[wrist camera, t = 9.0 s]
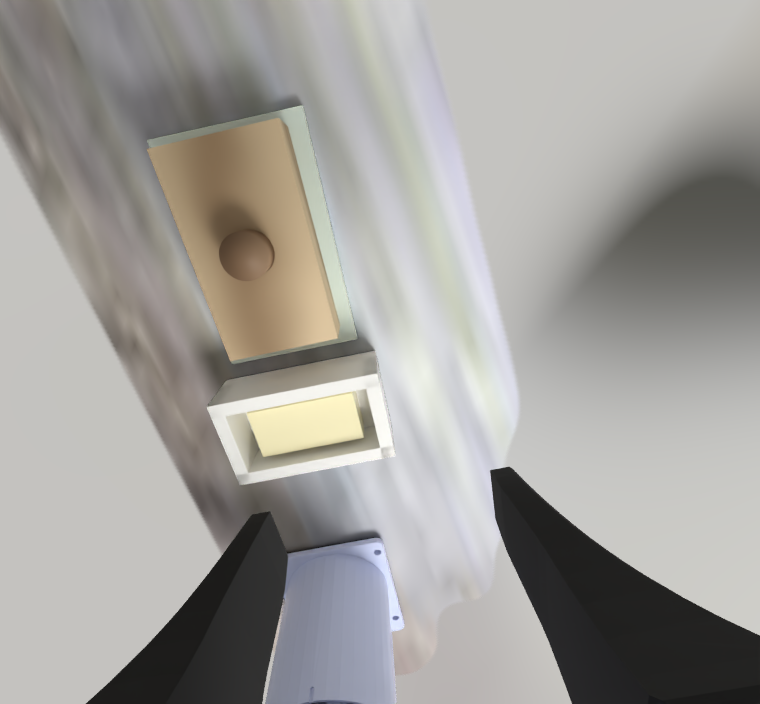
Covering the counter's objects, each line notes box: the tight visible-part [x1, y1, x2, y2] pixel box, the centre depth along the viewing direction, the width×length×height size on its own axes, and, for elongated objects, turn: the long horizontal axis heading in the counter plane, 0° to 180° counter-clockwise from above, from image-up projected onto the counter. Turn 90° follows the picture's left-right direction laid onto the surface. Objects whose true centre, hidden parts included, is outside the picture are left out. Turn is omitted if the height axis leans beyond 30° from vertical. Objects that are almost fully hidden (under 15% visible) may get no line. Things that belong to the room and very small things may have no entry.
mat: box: [147, 105, 357, 364], centre depth 19 cm, size 11×7×1 cm, turn 11°
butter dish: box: [207, 351, 395, 485], centre depth 21 cm, size 5×9×3 cm, turn 101°
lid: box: [147, 118, 340, 361], centre depth 17 cm, size 5×9×3 cm, turn 12°
